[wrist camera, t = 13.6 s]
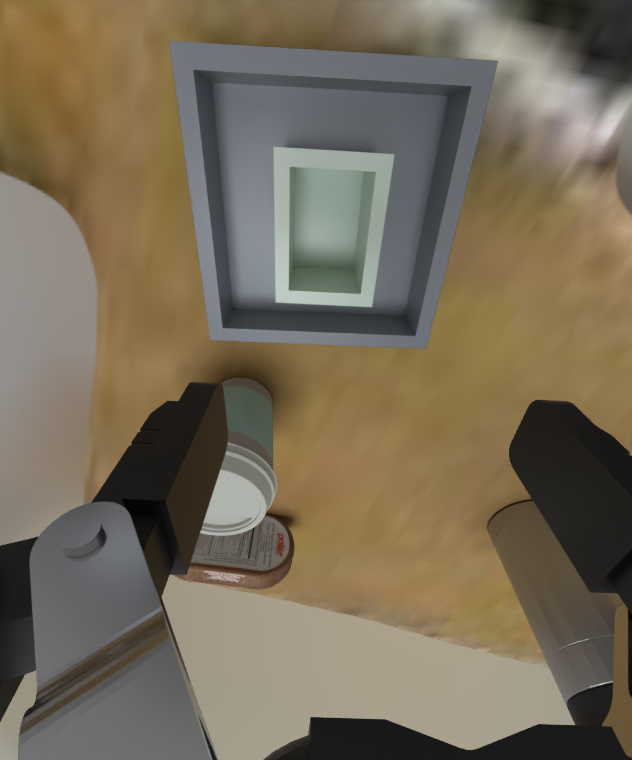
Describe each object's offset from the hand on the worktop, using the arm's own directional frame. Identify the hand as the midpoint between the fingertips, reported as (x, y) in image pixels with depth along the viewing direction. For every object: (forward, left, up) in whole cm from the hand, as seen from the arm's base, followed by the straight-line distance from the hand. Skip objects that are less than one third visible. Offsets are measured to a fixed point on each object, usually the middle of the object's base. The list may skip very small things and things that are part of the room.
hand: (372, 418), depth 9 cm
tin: (+10, +33, -21) cm, 40 cm away
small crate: (+1, -2, -19) cm, 19 cm away
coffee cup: (+8, +15, -20) cm, 27 cm away
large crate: (+1, -2, -20) cm, 20 cm away
